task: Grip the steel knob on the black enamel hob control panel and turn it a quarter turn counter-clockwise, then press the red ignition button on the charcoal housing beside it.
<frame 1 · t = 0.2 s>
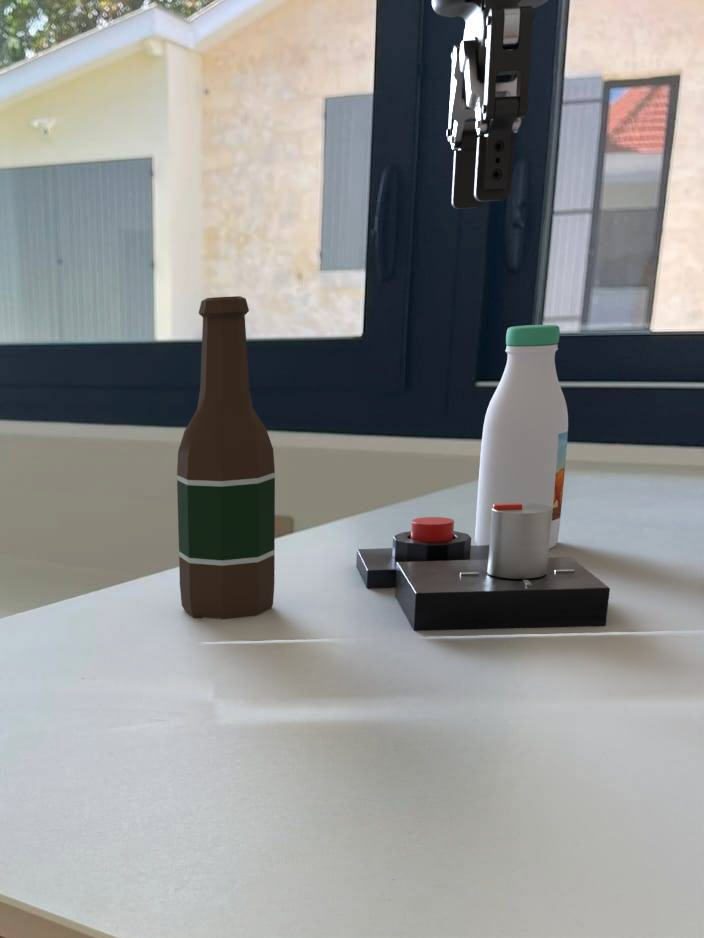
hand: (479, 204, 83), 29 cm above the worktop, tool pointing down, fingers open, 8 cm apart
burner knob: (519, 538, 94), point 6 cm above the worktop, hinge at 0.0°
milk bottle: (515, 547, 119), on the worktop
beer bottle: (227, 611, 102), on the worktop
ignition button: (432, 530, 107), point 4 cm above the worktop, slide at 0.2 cm
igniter: (429, 576, 109), on the worktop
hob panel: (494, 611, 97), on the worktop
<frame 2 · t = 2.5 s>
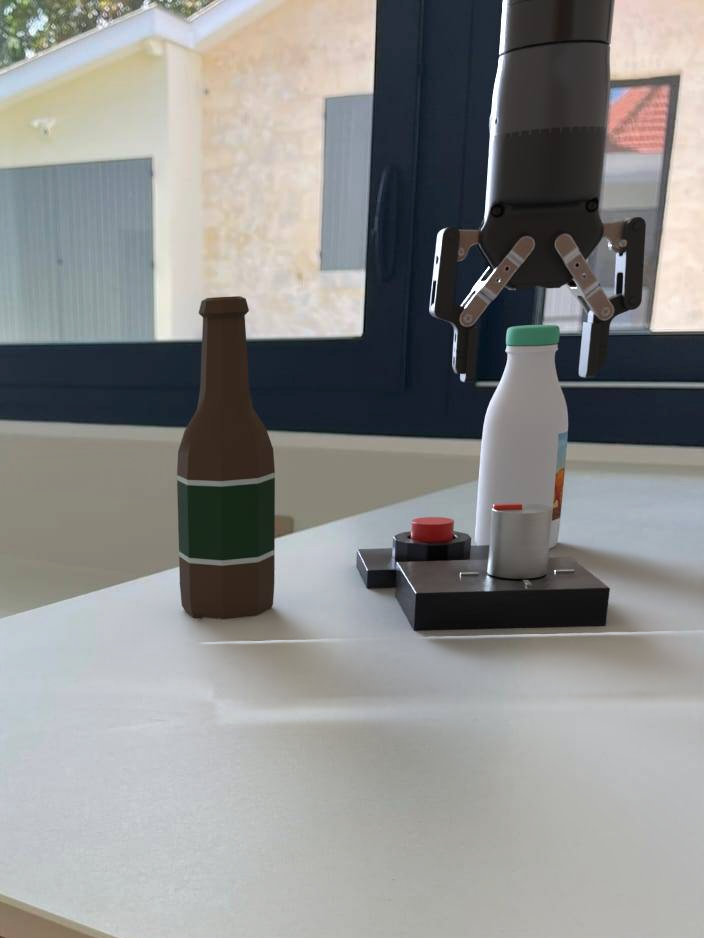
hand: (527, 379, 90), 17 cm above the worktop, tool pointing down, fingers open, 8 cm apart
nothing on the worktop moved.
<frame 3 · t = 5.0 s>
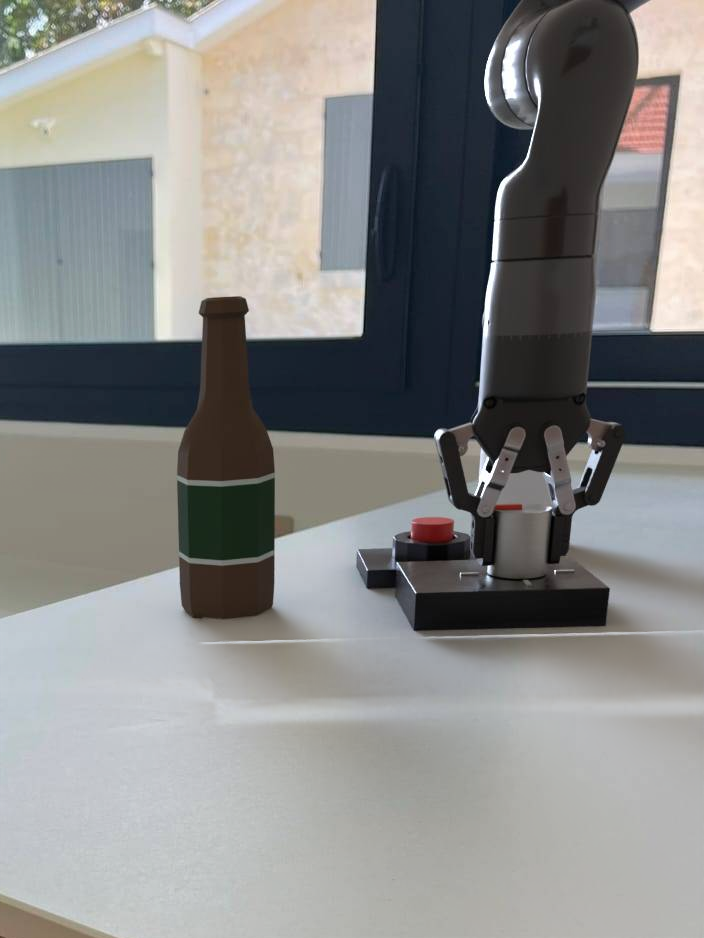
hand: (518, 561, 95), 4 cm above the worktop, tool pointing down, fingers closed on burner knob, 4 cm apart
burner knob: (519, 538, 94), point 6 cm above the worktop, hinge at 0.0°, touching gripper
everything else where it was.
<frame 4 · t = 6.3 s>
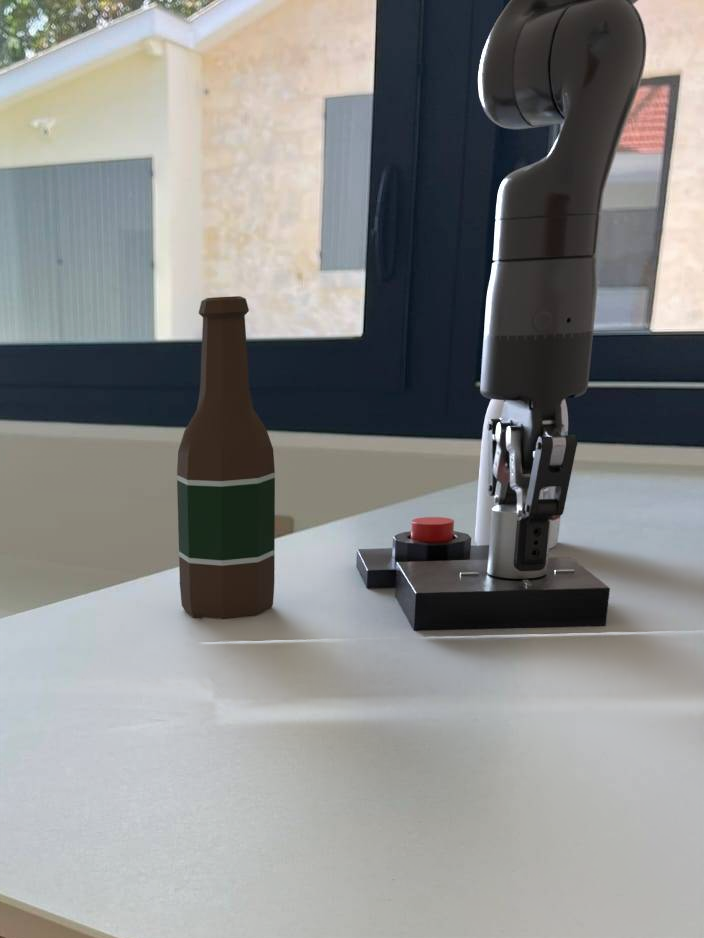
hand: (518, 561, 95), 4 cm above the worktop, tool pointing down, fingers closed on burner knob, 4 cm apart
burner knob: (519, 538, 94), point 6 cm above the worktop, hinge at 93.7°, touching gripper
everything else where it was.
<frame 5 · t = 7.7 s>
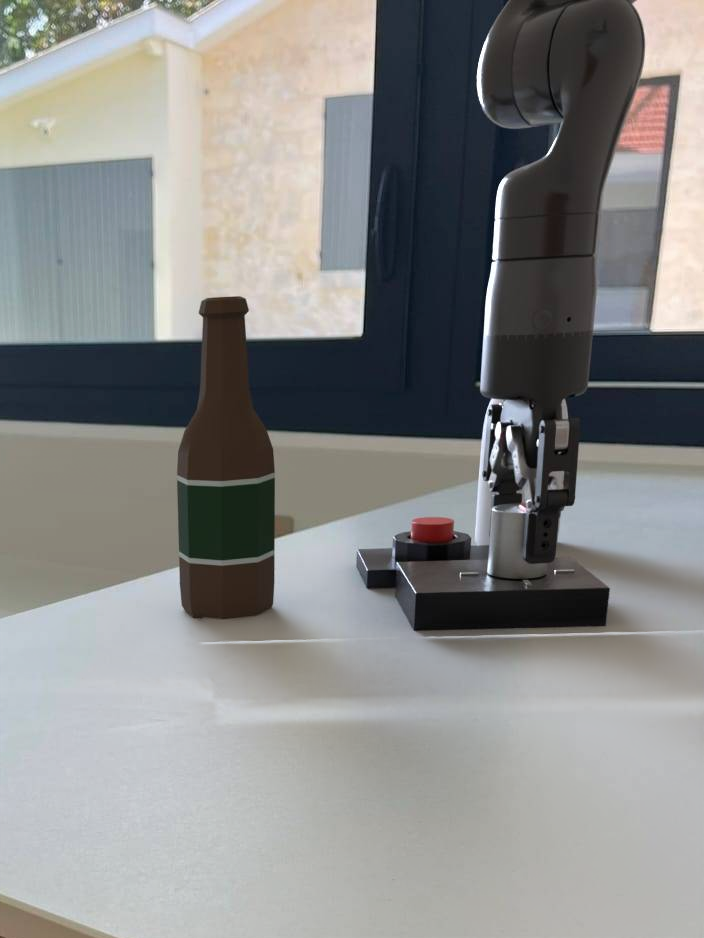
hand: (520, 551, 95), 5 cm above the worktop, tool pointing down, fingers open, 8 cm apart
burner knob: (519, 538, 94), point 6 cm above the worktop, hinge at 92.8°
everything else where it was.
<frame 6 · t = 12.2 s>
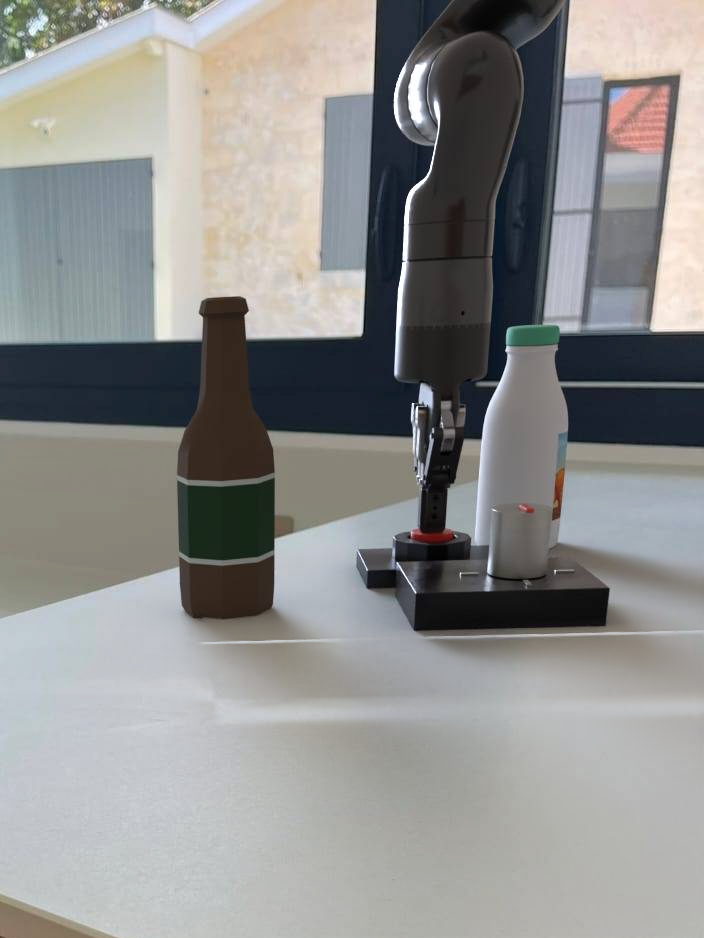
hand: (430, 530, 107), 4 cm above the worktop, tool pointing down, fingers closed
ignition button: (431, 541, 108), point 3 cm above the worktop, slide at -0.8 cm, touching gripper
everything else where it was.
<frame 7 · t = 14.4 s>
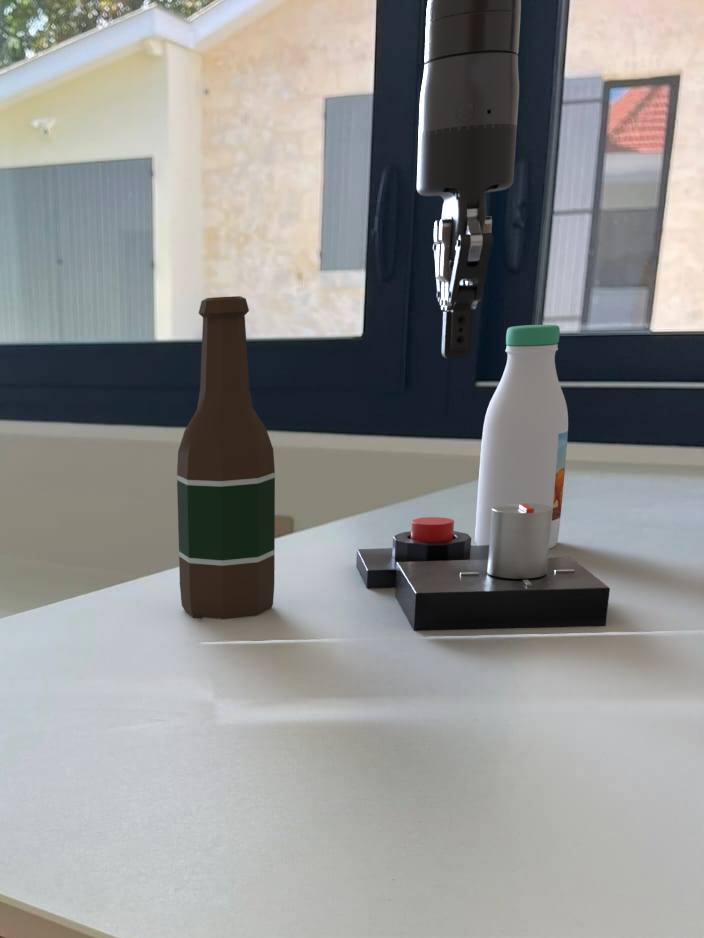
hand: (455, 357, 104), 18 cm above the worktop, tool pointing down, fingers closed
ignition button: (432, 530, 107), point 4 cm above the worktop, slide at 0.1 cm
everything else where it was.
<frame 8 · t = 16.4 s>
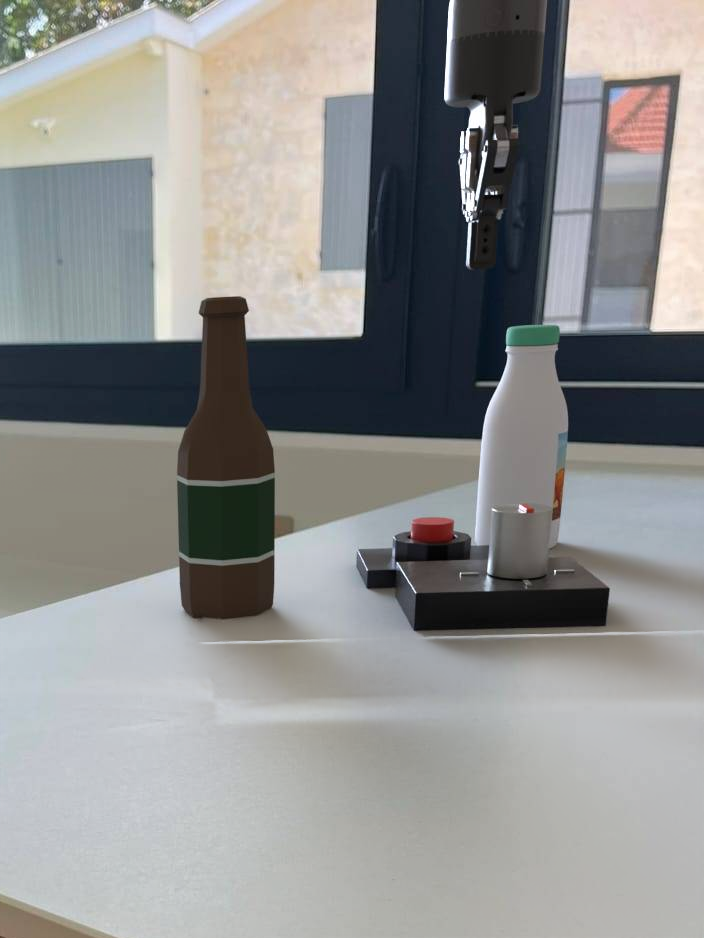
hand: (480, 268, 105), 25 cm above the worktop, tool pointing down, fingers closed
nothing on the worktop moved.
at the end: burner knob at +93° (first picture: +0°); ignition button pushed in 1.1 cm at the most during the clip, back to where it started at the end; ignition button slide at 0.1 cm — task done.
